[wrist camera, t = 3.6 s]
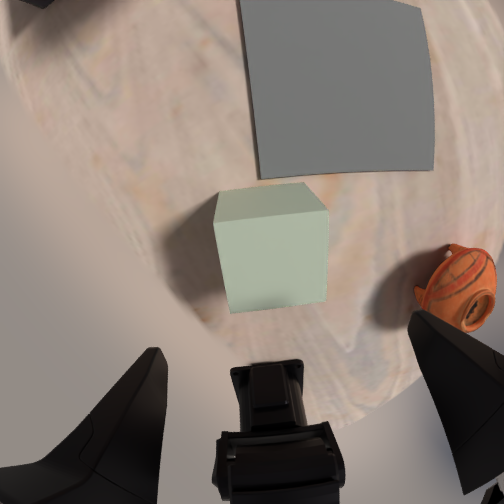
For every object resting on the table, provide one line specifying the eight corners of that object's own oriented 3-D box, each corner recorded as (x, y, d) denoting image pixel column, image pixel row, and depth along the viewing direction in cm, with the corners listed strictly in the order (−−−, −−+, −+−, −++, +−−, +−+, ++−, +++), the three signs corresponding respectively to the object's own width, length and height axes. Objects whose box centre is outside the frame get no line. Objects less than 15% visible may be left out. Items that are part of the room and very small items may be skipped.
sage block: (305, 255, 19) (325, 301, 14) (231, 264, 19) (230, 313, 14) (303, 181, 16) (328, 210, 12) (219, 191, 16) (212, 223, 12)
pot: (412, 328, 23) (441, 372, 16) (393, 257, 21) (430, 291, 14) (475, 291, 21) (513, 323, 14) (463, 219, 19) (512, 239, 13)
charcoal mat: (431, 169, 16) (433, 170, 16) (261, 178, 16) (261, 179, 16) (419, 9, 10) (420, 8, 10) (237, -11, 10) (238, -13, 10)
